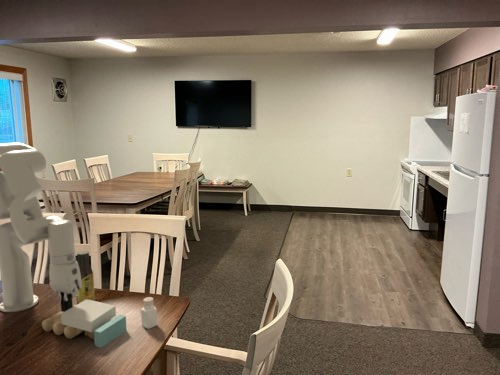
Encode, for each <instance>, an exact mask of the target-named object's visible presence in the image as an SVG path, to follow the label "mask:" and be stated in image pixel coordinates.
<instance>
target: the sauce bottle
mask: <svg viewBox="0 0 500 375" xmlns="http://www.w3.org/2000/svg"><path fill="white" fill-rule="evenodd" d="M89 257H90V252H89V251H86V250H83V251H78V252H77V253H76V258H77V262H78V265H79V269H80V274H81V281H82V288H81V289H78V292H79V295H78V296H76V303H77V304H79V303H81V302H83V301H84V300H86V299H88V300H93V301H95V283H94V281H95V280H94V271H93V269H92V267H91V265H90V258H89ZM77 304H76V305H77Z"/></svg>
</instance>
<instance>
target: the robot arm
mask: <svg viewBox="0 0 500 375" xmlns="http://www.w3.org/2000/svg"><path fill="white" fill-rule="evenodd" d="M46 167H47V160H46V158H45V155H44V154H43V153H42V152H41V151H40V150H39V149H37V148H35V147H32V146H30V145H28V144H25V143H22V142H6V143H5V142H4V143H0V170H1V171H2V172H1V171H0V221H2V220H7V219H9V220H10V221H8V222H4V223H2V224H0V278H1V279H0V280H1V287H2V289H1V290H2V292H0V298H2V302H1V303H0V311H1V312H4V313H16V312H22V311H25V310H28V309H31V308H32V307H34V306H36V305H37V304H38V303H39V296H37V295H36V294H34V290H33V289H34V288H33V281H32V280H33V278H32V270H31V260H30V256H29V254H28V253H27V252H26V251H25V250H24V249H22V247H24V246H28V245H32V244H36V243H41V242H43V241H47V240H48V252H49V268H48V269H49V272H48V273H49V274H48V276H49V287H50V288H51V289H52V291H53V292H54V293H56V294H57V296H58V300H60V309H61V311H62V312H65V311H67V310H69V309H70V308H72V307H73V305H74V304H73V298H75V297H76V296H78V295H79V292H78V289H81V288H82V281H81V274H80V269H79V265H78V260H77V256H76V244H75V232H74V224H73V221H71V220H70V219H64V218H62V217H61V216H59V215H55V214H54V215H53V214H52V215H47V216H44V215H43V211H42V208H41V205H40V202H39V199H38V197H37V195H39V193H40V192H41V190H42V186H41V184H40V182H39V180H38V178H37V176H36V173H42V172H44V170H46ZM61 311H60V312H61Z"/></svg>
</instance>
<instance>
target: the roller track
mask: <svg viewBox="0 0 500 375" xmlns="http://www.w3.org/2000/svg"><path fill="white" fill-rule="evenodd" d="M72 305H73V307H74V306H76V305H77V304H72ZM62 313H63V312H62V311H59V312H56V313H55V314H54V315H52V316H50V317H48V318H46V319H44V320H43V321H42V322H41V326H42V329H43V330H44V331H45V332H47V333H49V332H51V331H53V333H54V334H55V335H57V336H60V335H63V334H64V336H65V337H66V339H69V340H72V339H73V338H74V337H77V336H78V335H80V334H81V333H83V332H84V336H85V337H89V335H88V332H87V331H85V330H81V329H78V328H74V327H71V326H67V325H63V324H62V321H61V314H62Z"/></svg>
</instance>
